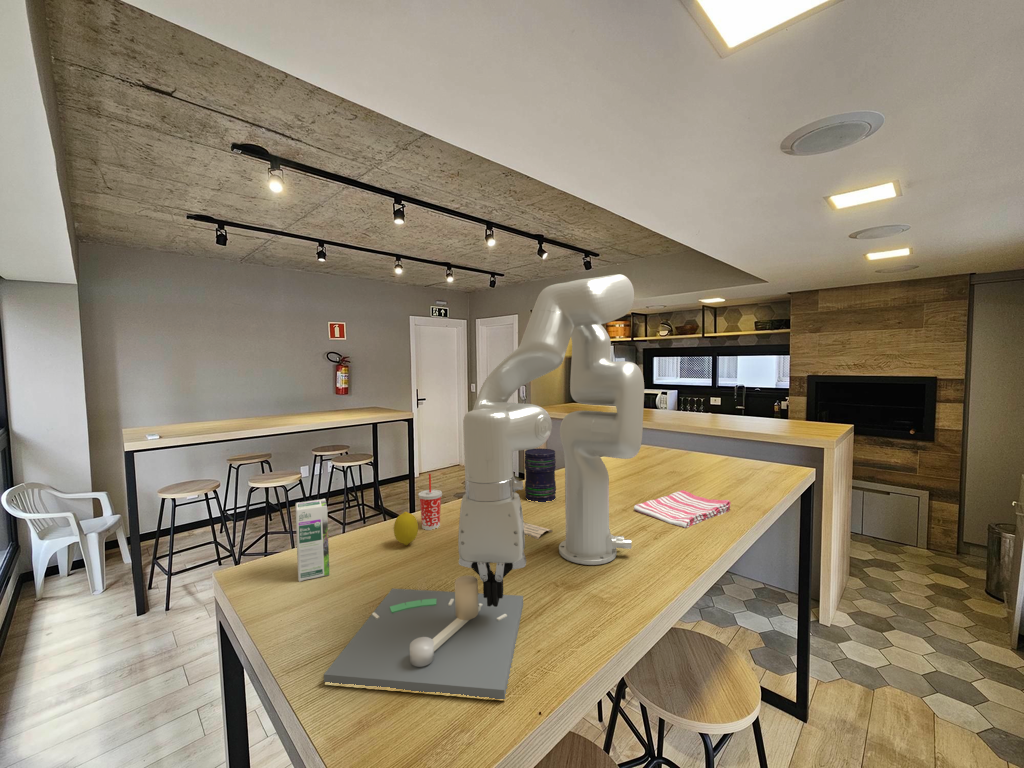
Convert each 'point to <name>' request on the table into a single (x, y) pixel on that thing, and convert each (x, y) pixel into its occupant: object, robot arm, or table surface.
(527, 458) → the storage jar
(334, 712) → the table surface
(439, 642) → the tuning lever
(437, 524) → the beverage cup
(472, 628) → the dial board
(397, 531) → the lemon
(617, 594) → the table surface
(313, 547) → the syrup box
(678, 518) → the dish towel
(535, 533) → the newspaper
